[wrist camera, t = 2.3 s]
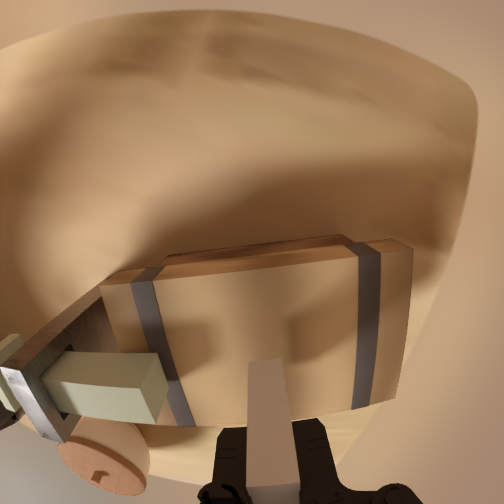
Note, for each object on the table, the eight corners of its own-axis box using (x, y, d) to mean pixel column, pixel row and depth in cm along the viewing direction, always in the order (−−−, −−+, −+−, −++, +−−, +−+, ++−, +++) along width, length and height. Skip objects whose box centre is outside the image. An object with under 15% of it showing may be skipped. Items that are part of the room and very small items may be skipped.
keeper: (119, 331, 25) (41, 436, 11) (104, 279, 23) (-1, 366, 9) (138, 330, 25) (65, 444, 11) (123, 277, 23) (20, 370, 9)
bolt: (32, 379, 15) (6, 408, 12) (11, 333, 14) (-22, 359, 11) (174, 392, 15) (158, 441, 11) (155, 334, 14) (130, 381, 10)
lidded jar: (168, 423, 28) (149, 487, 19) (150, 462, 30) (134, 513, 21) (84, 383, 27) (47, 437, 17) (80, 429, 29) (54, 475, 20)
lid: (164, 391, 19) (151, 425, 16) (125, 265, 17) (98, 286, 13) (376, 367, 19) (395, 398, 15) (383, 234, 17) (413, 248, 13)
